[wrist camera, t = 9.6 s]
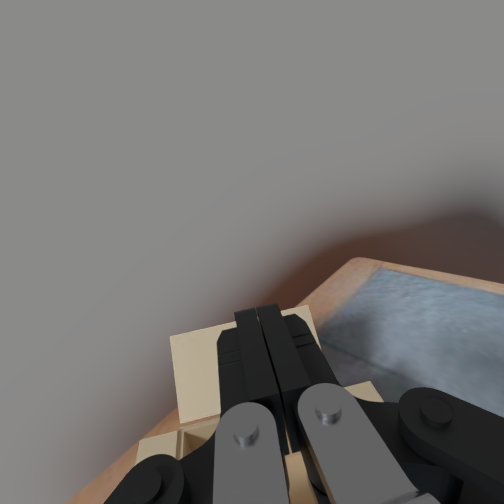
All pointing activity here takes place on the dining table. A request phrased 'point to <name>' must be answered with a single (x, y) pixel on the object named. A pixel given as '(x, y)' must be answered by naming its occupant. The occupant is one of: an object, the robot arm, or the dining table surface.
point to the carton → (202, 431)
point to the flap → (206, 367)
